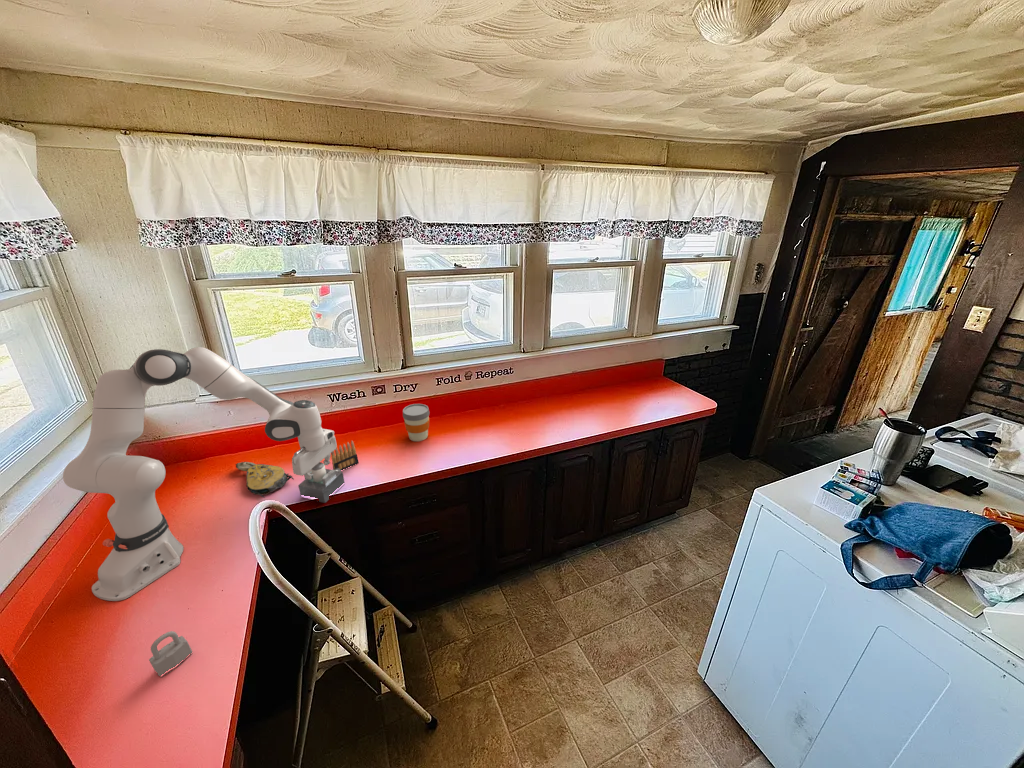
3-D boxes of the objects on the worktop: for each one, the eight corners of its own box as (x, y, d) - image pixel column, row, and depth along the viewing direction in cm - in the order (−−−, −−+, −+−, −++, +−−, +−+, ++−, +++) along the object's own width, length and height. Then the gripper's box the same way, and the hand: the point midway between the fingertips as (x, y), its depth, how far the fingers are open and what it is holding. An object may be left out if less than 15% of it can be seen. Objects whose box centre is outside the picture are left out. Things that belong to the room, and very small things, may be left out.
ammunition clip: (335, 474, 175) (330, 450, 170) (333, 472, 176) (328, 448, 171) (359, 463, 182) (354, 440, 177) (356, 461, 183) (352, 438, 178)
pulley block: (256, 447, 181) (293, 471, 166) (261, 457, 184) (298, 482, 169) (222, 467, 172) (259, 494, 156) (229, 477, 175) (265, 505, 159)
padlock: (161, 679, 100) (147, 653, 96) (154, 670, 102) (139, 644, 98) (194, 654, 106) (181, 628, 102) (186, 646, 108) (174, 620, 103)
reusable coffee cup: (405, 444, 196) (402, 417, 190) (405, 431, 207) (402, 405, 201) (432, 441, 198) (429, 414, 192) (430, 428, 210) (428, 402, 203)
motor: (325, 502, 158) (320, 484, 154) (301, 497, 161) (296, 478, 157) (350, 478, 172) (347, 460, 168) (328, 473, 175) (324, 456, 171)
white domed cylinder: (321, 483, 159) (318, 470, 157) (310, 480, 161) (307, 468, 158) (329, 475, 164) (327, 463, 161) (319, 473, 165) (316, 460, 162)
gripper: (298, 457, 145) (306, 488, 151) (336, 429, 163) (342, 458, 169) (284, 454, 146) (292, 485, 152) (323, 426, 164) (329, 455, 170)
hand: (318, 471), depth 160 cm, fingers open, 8 cm apart
